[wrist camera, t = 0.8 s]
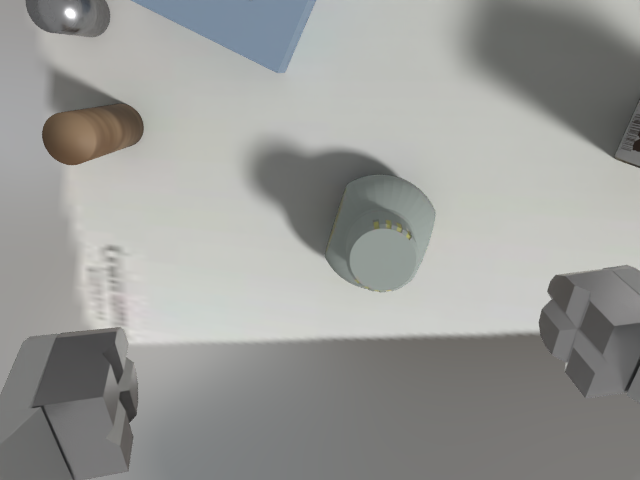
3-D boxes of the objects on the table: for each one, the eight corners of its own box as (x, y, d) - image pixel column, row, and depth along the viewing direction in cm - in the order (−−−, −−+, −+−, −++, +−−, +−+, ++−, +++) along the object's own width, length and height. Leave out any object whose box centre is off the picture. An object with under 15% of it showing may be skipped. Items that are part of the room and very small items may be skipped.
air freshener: (398, 285, 53) (409, 332, 43) (320, 261, 52) (313, 304, 43) (437, 184, 49) (457, 212, 40) (353, 158, 49) (354, 180, 39)
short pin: (73, -20, 45) (33, -33, 40) (115, 1, 46) (82, -9, 40) (60, 24, 47) (20, 18, 41) (102, 44, 47) (67, 41, 41)
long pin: (109, 96, 48) (50, 103, 39) (149, 115, 49) (100, 126, 39) (96, 135, 50) (36, 151, 40) (135, 153, 50) (84, 173, 41)
